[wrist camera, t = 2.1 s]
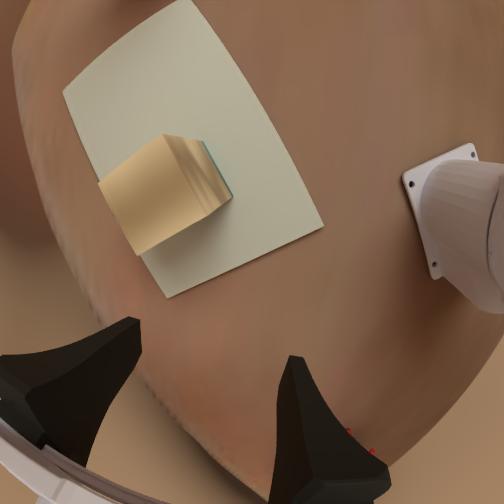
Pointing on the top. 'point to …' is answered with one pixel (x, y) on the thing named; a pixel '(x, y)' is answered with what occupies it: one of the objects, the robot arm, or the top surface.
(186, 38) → the mat
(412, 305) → the top surface
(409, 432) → the top surface
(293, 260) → the top surface
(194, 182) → the birch block
